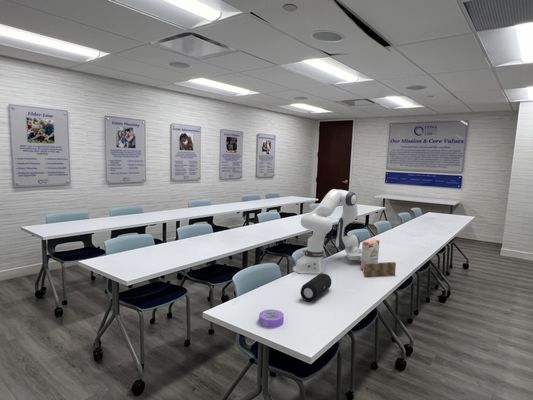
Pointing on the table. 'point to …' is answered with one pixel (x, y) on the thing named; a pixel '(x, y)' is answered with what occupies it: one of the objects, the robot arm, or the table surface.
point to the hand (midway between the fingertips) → (366, 259)
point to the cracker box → (369, 252)
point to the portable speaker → (315, 287)
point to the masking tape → (271, 318)
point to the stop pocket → (379, 269)
